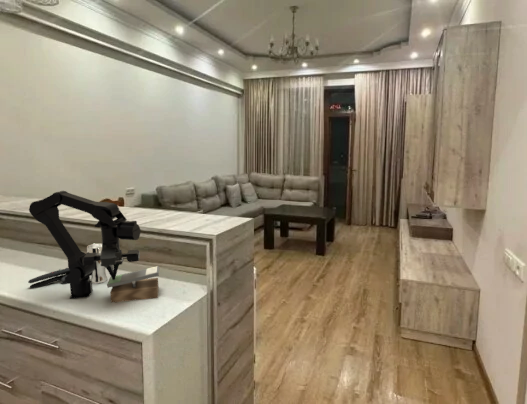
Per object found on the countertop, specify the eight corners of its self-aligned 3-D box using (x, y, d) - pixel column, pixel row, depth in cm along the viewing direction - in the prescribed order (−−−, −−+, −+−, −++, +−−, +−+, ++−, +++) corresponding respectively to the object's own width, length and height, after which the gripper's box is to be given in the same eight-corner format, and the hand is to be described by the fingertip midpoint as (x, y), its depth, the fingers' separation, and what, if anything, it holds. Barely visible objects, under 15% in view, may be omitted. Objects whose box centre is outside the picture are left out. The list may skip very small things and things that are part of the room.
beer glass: (101, 284, 142) (97, 249, 139) (86, 283, 144) (82, 248, 141) (112, 277, 149) (108, 243, 146) (97, 276, 150) (93, 242, 147)
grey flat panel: (108, 289, 128) (106, 284, 127) (111, 281, 134) (110, 276, 134) (159, 277, 131) (157, 272, 131) (159, 270, 138) (158, 265, 137)
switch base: (111, 302, 128) (109, 288, 127) (115, 291, 136) (113, 278, 135) (157, 297, 132) (156, 283, 130) (158, 287, 140) (157, 273, 139)
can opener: (78, 275, 152) (77, 263, 151) (80, 281, 146) (79, 268, 145) (29, 285, 142) (27, 272, 141) (29, 292, 137) (27, 278, 135)
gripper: (76, 247, 118) (80, 291, 121) (135, 243, 122) (138, 285, 125) (84, 237, 128) (88, 278, 132) (138, 234, 133) (141, 273, 136)
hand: (113, 279), depth 131 cm, fingers closed, pressing on grey flat panel
